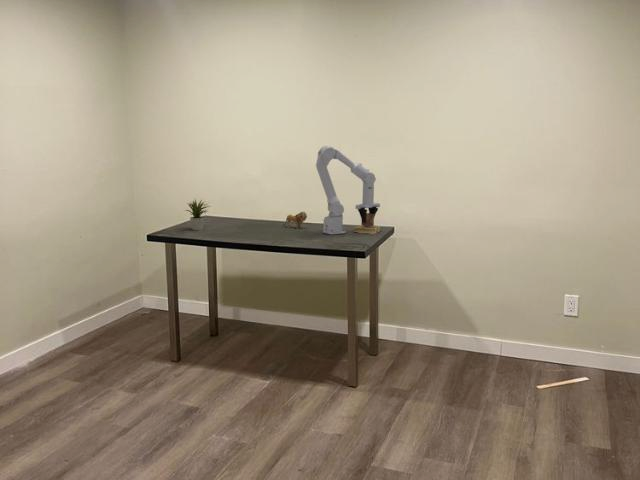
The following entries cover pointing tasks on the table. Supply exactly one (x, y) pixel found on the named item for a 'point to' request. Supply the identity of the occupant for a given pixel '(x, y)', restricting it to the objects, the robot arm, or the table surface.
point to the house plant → (197, 215)
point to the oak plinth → (367, 229)
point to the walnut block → (369, 220)
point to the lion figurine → (296, 219)
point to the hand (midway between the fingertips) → (367, 221)
